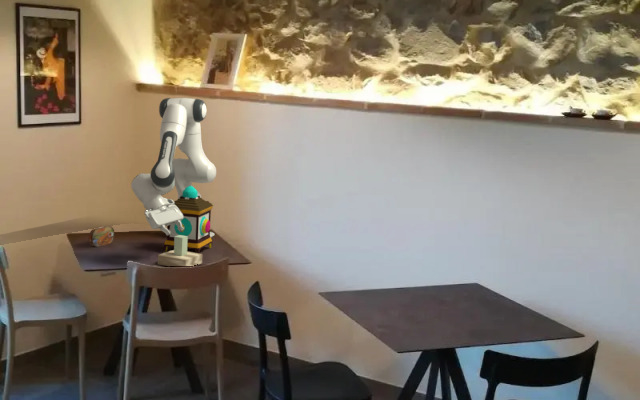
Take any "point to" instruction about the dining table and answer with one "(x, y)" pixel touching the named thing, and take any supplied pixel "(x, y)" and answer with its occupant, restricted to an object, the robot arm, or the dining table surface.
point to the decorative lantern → (192, 221)
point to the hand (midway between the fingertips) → (175, 232)
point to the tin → (101, 236)
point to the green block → (180, 245)
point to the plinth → (179, 259)
